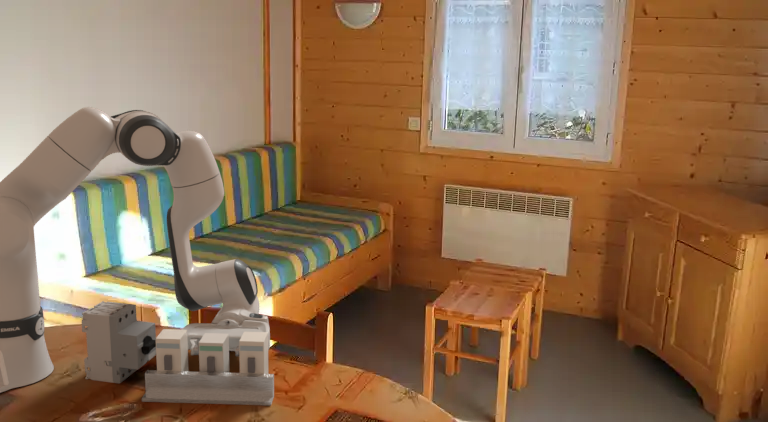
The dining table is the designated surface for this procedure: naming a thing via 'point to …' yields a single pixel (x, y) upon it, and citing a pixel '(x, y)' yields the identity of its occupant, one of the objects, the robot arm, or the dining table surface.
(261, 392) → the rail
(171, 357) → the module left
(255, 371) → the module right
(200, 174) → the robot arm
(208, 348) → the loose module
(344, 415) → the dining table surface
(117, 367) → the circuit breaker
